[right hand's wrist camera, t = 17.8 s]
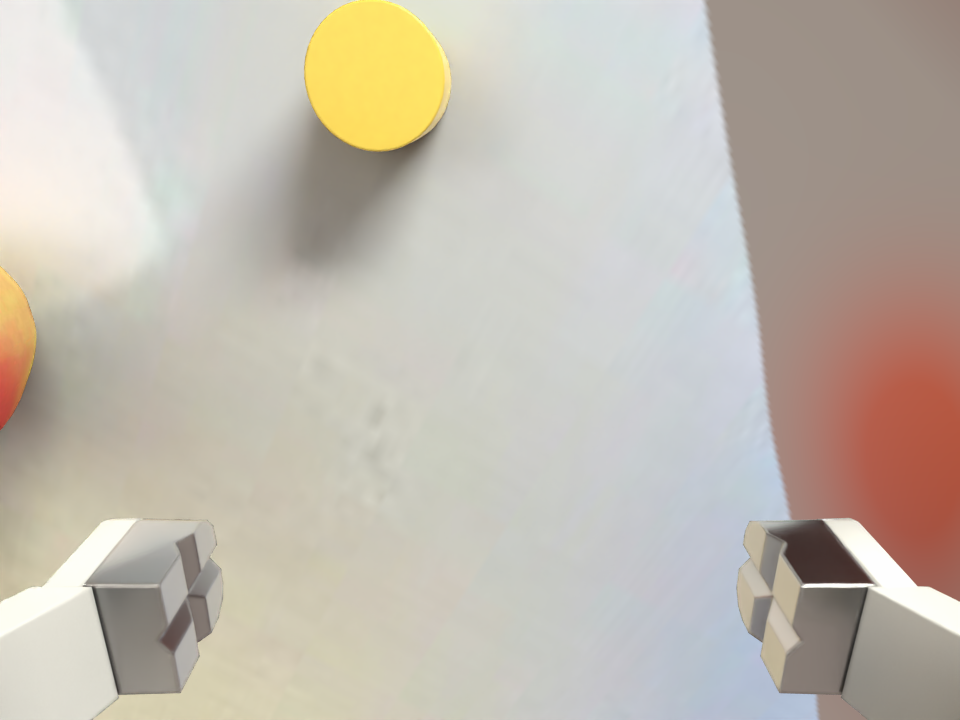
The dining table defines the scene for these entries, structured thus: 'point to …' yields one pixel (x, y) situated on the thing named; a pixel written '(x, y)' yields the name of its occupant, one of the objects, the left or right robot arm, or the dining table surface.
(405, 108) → the tin
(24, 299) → the apple
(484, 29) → the dining table surface
